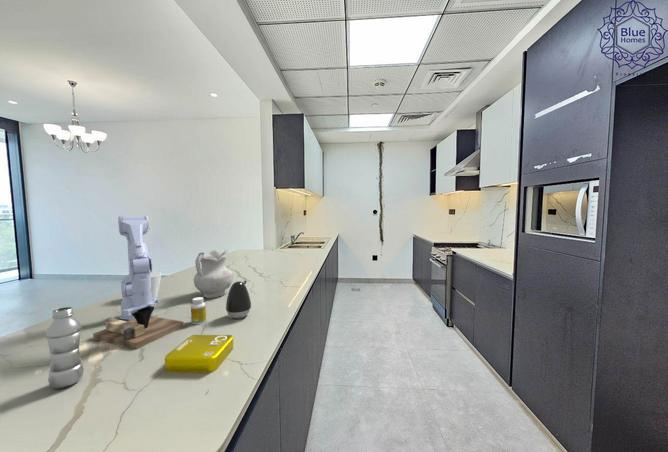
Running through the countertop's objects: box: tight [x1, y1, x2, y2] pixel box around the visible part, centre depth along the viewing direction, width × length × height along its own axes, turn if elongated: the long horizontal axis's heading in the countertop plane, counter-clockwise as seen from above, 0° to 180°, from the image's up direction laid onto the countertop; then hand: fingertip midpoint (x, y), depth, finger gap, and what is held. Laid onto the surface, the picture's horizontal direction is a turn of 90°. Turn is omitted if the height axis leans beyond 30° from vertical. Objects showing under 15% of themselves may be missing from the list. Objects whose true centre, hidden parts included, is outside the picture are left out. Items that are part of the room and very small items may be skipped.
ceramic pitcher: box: [193, 249, 234, 299], centre depth 144 cm, size 22×20×25 cm
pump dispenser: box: [225, 280, 252, 320], centre depth 114 cm, size 10×10×15 cm
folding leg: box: [105, 316, 145, 337], centre depth 96 cm, size 17×3×4 cm, turn 69°
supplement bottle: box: [190, 296, 207, 325], centre depth 109 cm, size 5×5×10 cm
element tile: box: [164, 334, 234, 374], centre depth 82 cm, size 15×15×5 cm
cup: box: [150, 271, 163, 298], centre depth 140 cm, size 12×12×12 cm
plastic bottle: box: [45, 306, 85, 389], centre depth 69 cm, size 6×7×20 cm
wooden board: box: [92, 315, 185, 350], centre depth 100 cm, size 22×18×5 cm
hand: (143, 328), depth 97 cm, fingers closed
